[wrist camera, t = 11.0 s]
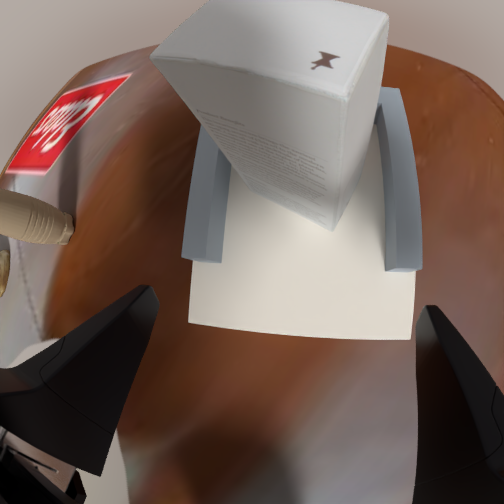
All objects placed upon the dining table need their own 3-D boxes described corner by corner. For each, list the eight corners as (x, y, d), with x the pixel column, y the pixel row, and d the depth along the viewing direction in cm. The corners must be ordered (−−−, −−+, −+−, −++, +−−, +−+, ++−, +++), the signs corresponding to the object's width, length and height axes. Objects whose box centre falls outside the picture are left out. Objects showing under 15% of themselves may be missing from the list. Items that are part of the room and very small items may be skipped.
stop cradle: (405, 337, 15) (424, 347, 11) (194, 321, 18) (168, 326, 15) (395, 113, 17) (404, 84, 13) (219, 114, 20) (202, 89, 17)
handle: (50, 258, 23) (-68, 234, 9) (61, 200, 24) (-49, 156, 10) (74, 264, 22) (-64, 238, 8) (87, 198, 23) (-40, 144, 8)
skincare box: (362, 176, 16) (397, 14, 4) (332, 234, 16) (350, 104, 4) (278, 139, 17) (219, -13, 6) (247, 191, 17) (140, 59, 6)
